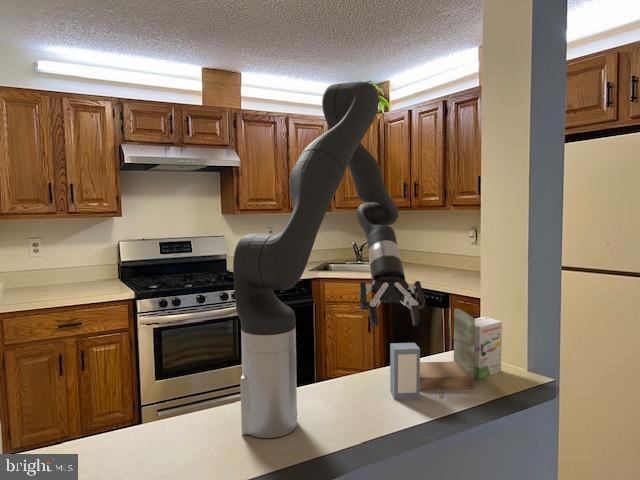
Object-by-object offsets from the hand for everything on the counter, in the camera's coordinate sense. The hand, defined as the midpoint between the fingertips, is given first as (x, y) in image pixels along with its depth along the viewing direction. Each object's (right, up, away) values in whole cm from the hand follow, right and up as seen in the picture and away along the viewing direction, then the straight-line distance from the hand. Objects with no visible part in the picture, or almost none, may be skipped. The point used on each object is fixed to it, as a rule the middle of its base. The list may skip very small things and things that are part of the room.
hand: (396, 324), depth 99 cm
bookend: (+9, -12, +1) cm, 15 cm away
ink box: (+20, -12, +5) cm, 24 cm away
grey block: (+1, -13, -7) cm, 15 cm away
